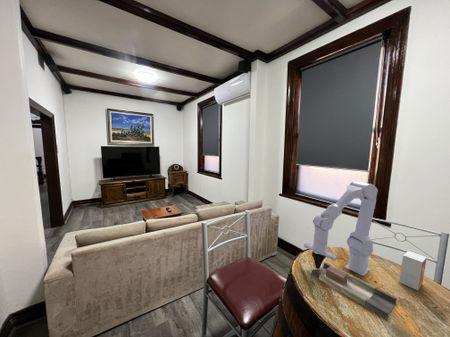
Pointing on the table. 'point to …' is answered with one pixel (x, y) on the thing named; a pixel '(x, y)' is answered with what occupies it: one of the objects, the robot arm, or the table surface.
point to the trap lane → (360, 292)
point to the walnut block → (337, 275)
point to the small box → (412, 270)
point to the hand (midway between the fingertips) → (317, 267)
